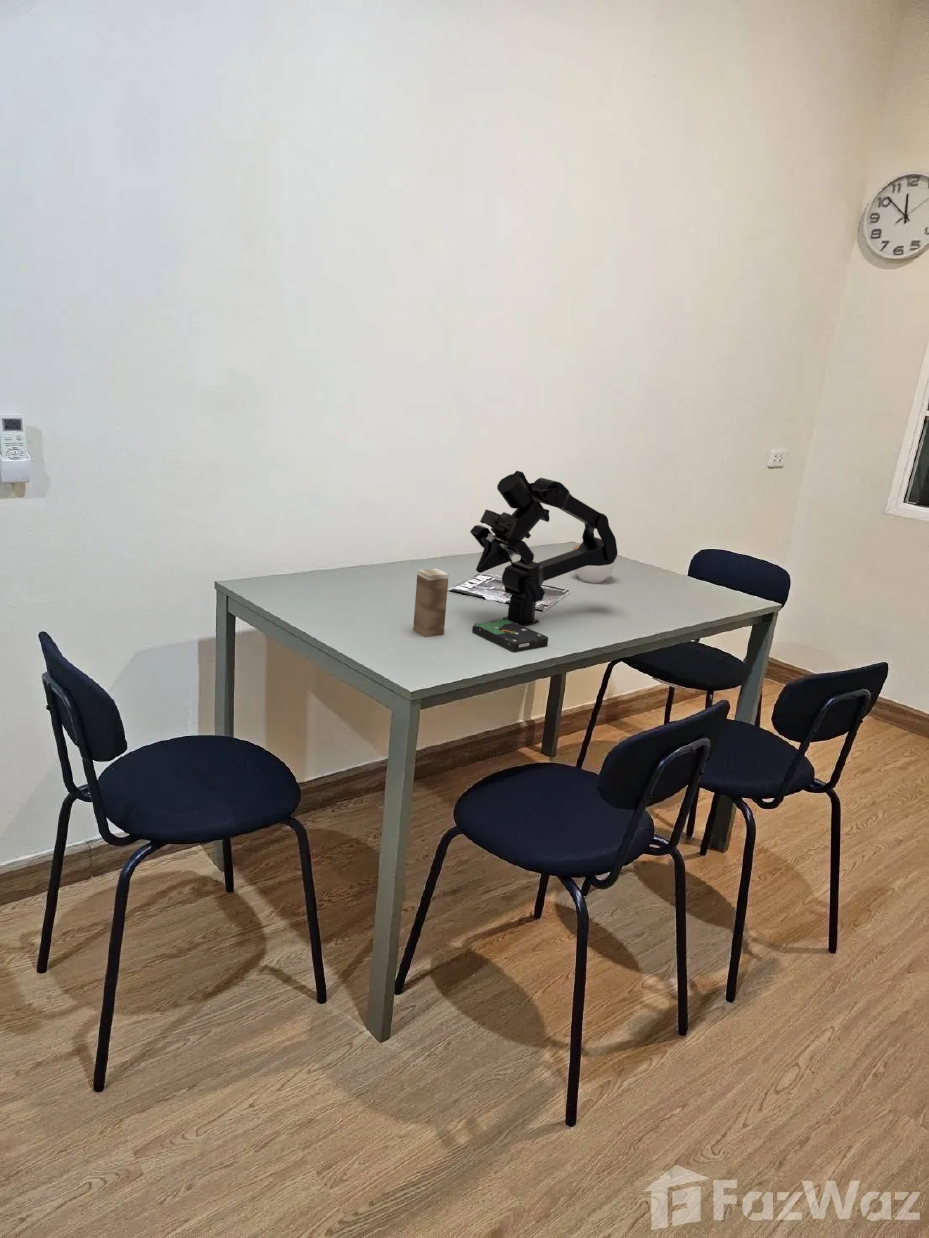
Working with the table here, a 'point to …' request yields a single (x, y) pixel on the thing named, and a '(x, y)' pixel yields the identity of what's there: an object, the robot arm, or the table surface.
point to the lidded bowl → (594, 572)
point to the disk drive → (510, 635)
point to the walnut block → (430, 602)
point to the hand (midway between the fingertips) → (477, 571)
